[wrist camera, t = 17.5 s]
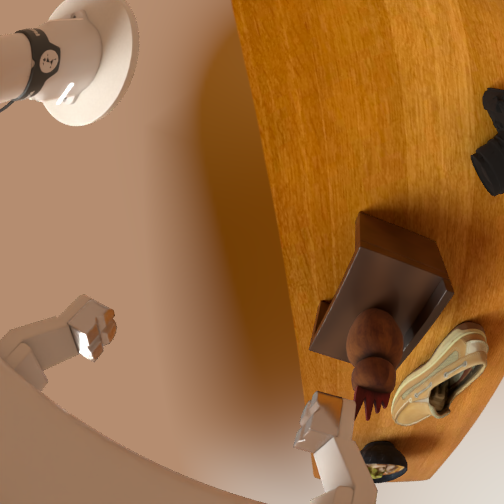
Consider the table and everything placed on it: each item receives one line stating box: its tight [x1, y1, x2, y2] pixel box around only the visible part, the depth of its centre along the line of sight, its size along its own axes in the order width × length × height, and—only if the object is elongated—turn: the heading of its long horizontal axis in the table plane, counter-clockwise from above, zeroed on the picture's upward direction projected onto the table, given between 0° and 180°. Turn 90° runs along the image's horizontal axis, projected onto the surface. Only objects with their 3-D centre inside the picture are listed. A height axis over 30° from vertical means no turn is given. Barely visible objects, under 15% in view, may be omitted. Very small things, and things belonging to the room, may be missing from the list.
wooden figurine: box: [346, 308, 404, 421], centre depth 31 cm, size 7×6×15 cm
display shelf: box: [309, 212, 454, 371], centre depth 40 cm, size 12×18×12 cm, turn 168°
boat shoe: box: [391, 322, 489, 426], centre depth 46 cm, size 10×29×11 cm, turn 174°
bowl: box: [360, 441, 407, 483], centre depth 65 cm, size 17×17×10 cm
